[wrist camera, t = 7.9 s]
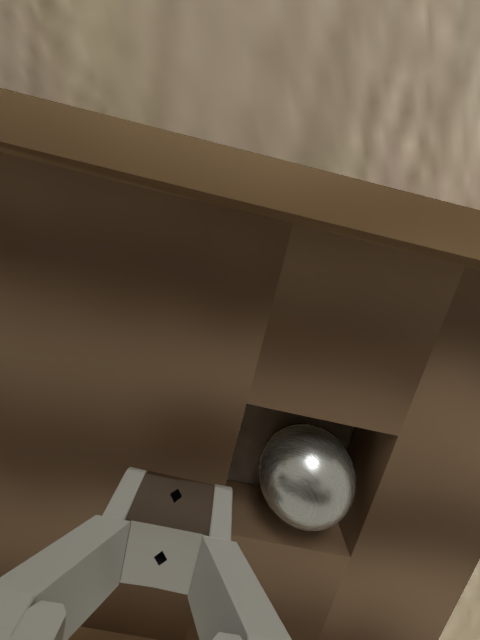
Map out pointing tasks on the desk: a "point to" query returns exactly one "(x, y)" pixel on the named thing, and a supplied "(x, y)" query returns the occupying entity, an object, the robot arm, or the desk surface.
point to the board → (236, 361)
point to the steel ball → (307, 477)
